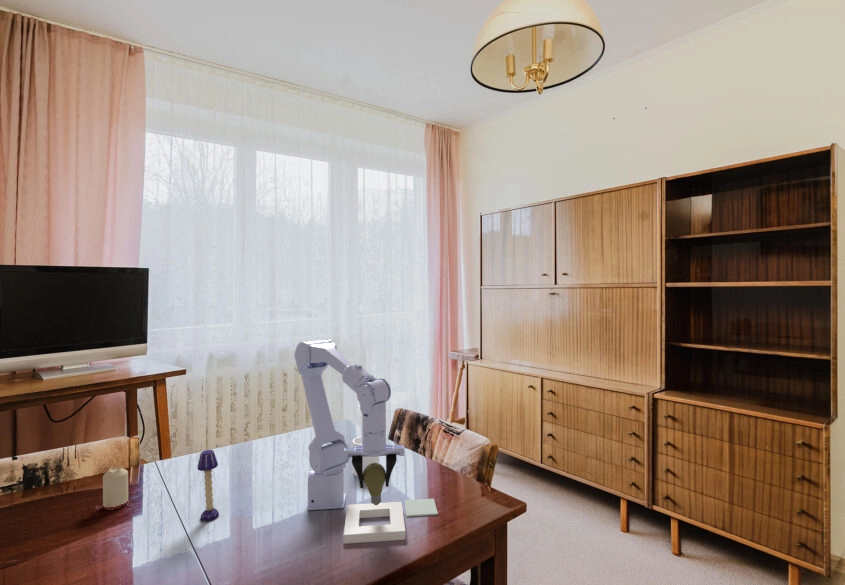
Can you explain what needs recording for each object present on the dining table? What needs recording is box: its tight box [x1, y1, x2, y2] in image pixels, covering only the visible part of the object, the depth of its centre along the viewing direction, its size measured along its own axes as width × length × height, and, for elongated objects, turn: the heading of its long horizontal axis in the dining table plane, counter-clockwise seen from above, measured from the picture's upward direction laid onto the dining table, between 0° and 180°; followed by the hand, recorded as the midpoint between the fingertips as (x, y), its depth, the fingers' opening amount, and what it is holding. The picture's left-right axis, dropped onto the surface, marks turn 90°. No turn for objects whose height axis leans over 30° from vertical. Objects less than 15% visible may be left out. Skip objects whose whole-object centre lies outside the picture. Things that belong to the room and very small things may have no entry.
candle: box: [102, 466, 129, 508], centre depth 116 cm, size 6×6×10 cm
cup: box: [352, 436, 380, 478], centre depth 139 cm, size 8×12×10 cm
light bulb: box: [363, 462, 386, 505], centre depth 106 cm, size 6×6×10 cm
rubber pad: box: [404, 498, 439, 518], centre depth 114 cm, size 8×8×1 cm
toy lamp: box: [197, 449, 220, 522], centre depth 110 cm, size 5×5×17 cm
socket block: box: [343, 501, 406, 545], centre depth 106 cm, size 14×14×2 cm
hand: (374, 485), depth 106 cm, fingers closed on light bulb, 5 cm apart
